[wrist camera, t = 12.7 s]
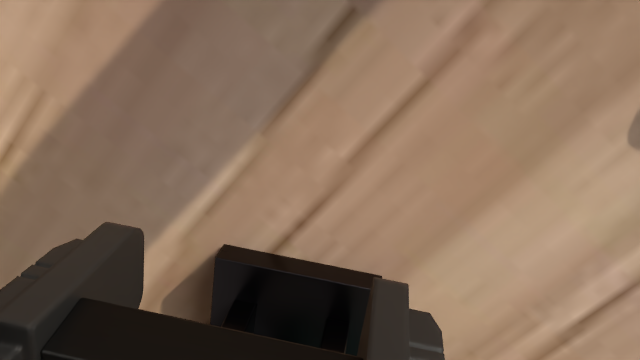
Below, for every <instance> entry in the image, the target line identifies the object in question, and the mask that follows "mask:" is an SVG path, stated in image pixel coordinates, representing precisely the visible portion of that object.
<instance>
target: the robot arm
mask: <svg viewBox="0 0 640 360" xmlns="http://www.w3.org/2000/svg"><path fill="white" fill-rule="evenodd" d="M143 277H144V234H143V231H142V230H141V229H140V228H135V227H130V226H126V225H121V224H116V223H111V222H105V223H103V224H102V225H101V226H99V227H98V228H97V229H96V230H95V231H93V232H92V233H91V234H90V235H89V236H87V237H86V238H85V239H84V240H80V239H75V240H73V241H70V242H68V243H65V244H63V245H60V246H58V247H56V248H53V249H52V250H51V251H49V252H48V253H47V254H45V255H44V256H43V257H42V258H40V259H39V260H38V261H36V264H35V265H31V266H30V267H29V268H28V269H26V270H25V271H24V272H22V273H21V276H20V277H19V276H17V277H16V278H15V279H13V280H12V281H11V282H10V283H8V284H7V285H6V286H5V287H3V288H2V289H1V290H0V360H42V357H41V350H42V348H43V347H44V346H45V344H46V343H47V342H48V340H49V339H50V338H51V337H52V335H53V334H54V333H55V331H56V330H57V329H58V327H59V326H60V325H61V323H62V322H63V321H64V319H65V318H66V317H67V315H68V314H69V313H70V311H71V310H72V309H73V308H74V306H75V305H76V304H77V302H78V301H79V300H80V298H83V297H84V298H89V299H93V300H98V301H103V302H107V303H112V304H117V305H121V306H126V307H131V308H135V309H138V308H139V305H140V302H141V299H142V294H143ZM443 351H444V349H443V340H442V331H441V330H440V328H439V327H438V325H437V323H436V322H435V320H434V319H433V317H432V316H431V314H430V313H427V312H422V311H417V310H413V309H409V288H408V284H406V283H401V282H396V281H391V280H386V279H382V278H377V277H374V278H373V282H372V286H371V290H370V295H369V300H368V304H367V309H366V314H365V318H364V323H363V327H362V332H361V337H360V342H359V347H358V353H357V356H358V357H362V358H364V360H445V358H444V354H443Z"/></svg>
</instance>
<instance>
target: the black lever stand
mask: <svg viewBox="0 0 640 360" xmlns="http://www.w3.org/2000/svg"><path fill="white" fill-rule="evenodd" d="M374 277H377V278H382V276H379V275H374V274H369V273H364V272H359V271H354V270H349V269H344V268H339V267H334V266H329V265H324V264H320V263H315V262H310V261H305V260H300V259H295V258H290V257H285V256H280V255H275V254H270V253H265V252H260V251H255V250H250V249H245V248H240V247H236V246H231V245H226V244H224V245H223V247H222V248H221V250H220V251H219V253H218V254H217V256H216V257H215V268H214V281H213V295H212V308H211V322H210V325H214V326H219V327H223V328H228V329H233V330H237V331H242V332H247V333H251V334H256V335H260V336H265V337H270V338H274V339H279V340H284V341H288V342H293V343H298V344H302V345H307V346H311V347H316V348H321V349H325V350H330V351H335V352H339V353H344V354H349V355H353V356H357V353H358V347H359V342H360V337H361V332H362V327H363V323H364V318H365V314H366V309H367V304H368V300H369V295H370V290H371V286H372V282H373V278H374Z"/></svg>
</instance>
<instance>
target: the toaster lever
mask: <svg viewBox="0 0 640 360" xmlns="http://www.w3.org/2000/svg"><path fill="white" fill-rule="evenodd" d="M41 357H42V360H364V358H362V357H358V356H353V355H349V354H344V353H339V352H335V351H330V350H325V349H321V348H316V347H311V346H307V345H302V344H298V343H293V342H288V341H284V340H279V339H274V338H270V337H265V336H260V335H256V334H251V333H247V332H242V331H237V330H233V329H228V328H223V327H219V326H214V325H209V324H205V323H200V322H196V321H191V320H186V319H182V318H177V317H172V316H168V315H163V314H158V313H154V312H149V311H145V310H140V309H135V308H131V307H126V306H121V305H117V304H112V303H107V302H103V301H98V300H93V299H89V298H84V297H83V298H80V300H79V301H78V302H77V304H76V305H75V306H74V308H73V309H72V310H71V311H70V313H69V314H68V315H67V317H66V318H65V319H64V321H63V322H62V323H61V325H60V326H59V327H58V329H57V330H56V331H55V333H54V334H53V335H52V337H51V338H50V339H49V340H48V342H47V343H46V344H45V346H44V347H43V348H42V350H41Z"/></svg>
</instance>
